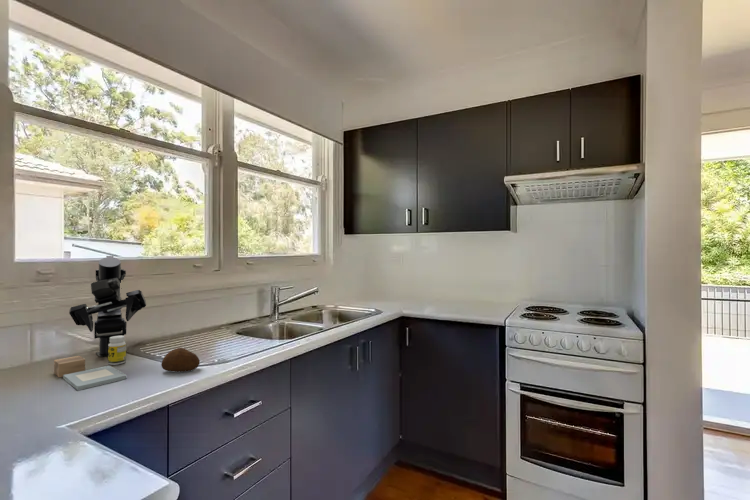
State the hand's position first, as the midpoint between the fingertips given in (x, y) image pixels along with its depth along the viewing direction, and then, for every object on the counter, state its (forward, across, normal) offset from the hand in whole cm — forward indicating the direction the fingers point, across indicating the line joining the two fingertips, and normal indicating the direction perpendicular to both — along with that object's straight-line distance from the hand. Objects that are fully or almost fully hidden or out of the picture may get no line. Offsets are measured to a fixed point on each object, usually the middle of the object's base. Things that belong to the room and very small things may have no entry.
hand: (109, 325), depth 109 cm
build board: (+11, -6, +8) cm, 15 cm away
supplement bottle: (-1, -4, +17) cm, 18 cm away
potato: (+16, +15, +12) cm, 25 cm away
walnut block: (+2, -14, +12) cm, 19 cm away
